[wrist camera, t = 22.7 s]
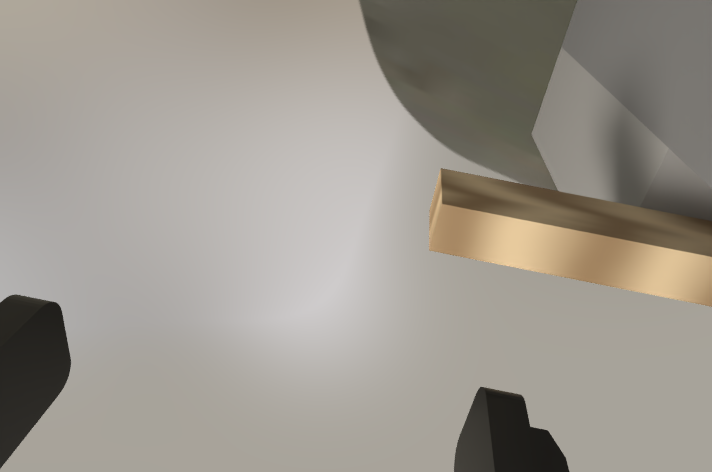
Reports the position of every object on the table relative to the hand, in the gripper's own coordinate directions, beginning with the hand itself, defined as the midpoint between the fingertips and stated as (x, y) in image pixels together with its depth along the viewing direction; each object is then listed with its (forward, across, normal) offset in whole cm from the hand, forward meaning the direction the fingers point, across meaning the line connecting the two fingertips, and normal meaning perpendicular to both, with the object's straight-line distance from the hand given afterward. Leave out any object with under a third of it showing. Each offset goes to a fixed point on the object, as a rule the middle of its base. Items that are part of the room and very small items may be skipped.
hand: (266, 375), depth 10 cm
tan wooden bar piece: (+18, +14, -4) cm, 23 cm away
